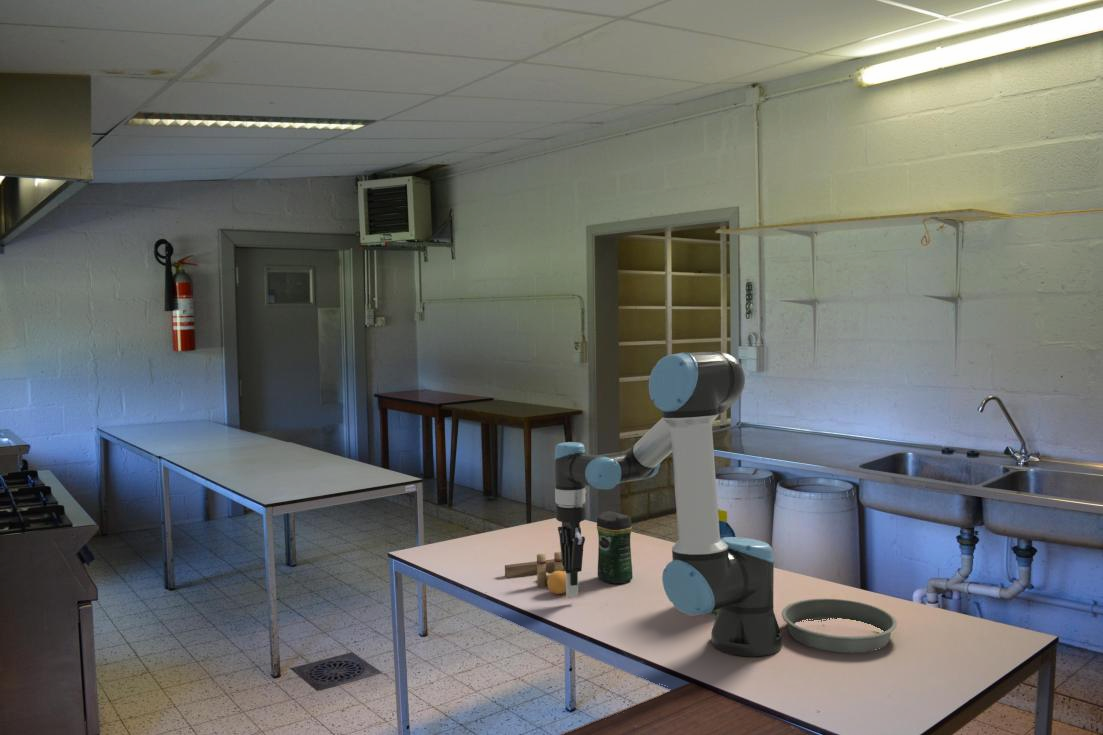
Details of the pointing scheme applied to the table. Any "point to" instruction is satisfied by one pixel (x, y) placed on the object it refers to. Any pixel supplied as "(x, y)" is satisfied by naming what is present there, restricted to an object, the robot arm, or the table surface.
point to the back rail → (527, 568)
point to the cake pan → (836, 609)
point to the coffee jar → (614, 547)
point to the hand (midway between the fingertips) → (572, 596)
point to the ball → (557, 582)
